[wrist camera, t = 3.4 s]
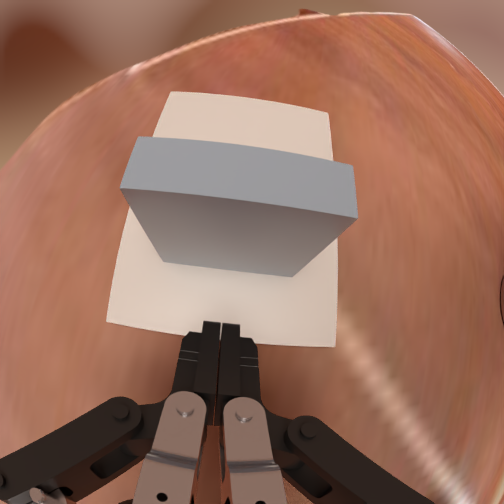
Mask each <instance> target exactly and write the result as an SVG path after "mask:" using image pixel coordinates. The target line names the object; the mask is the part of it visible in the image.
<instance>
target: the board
mask: <svg viewBox="0 0 504 504" xmlns="http://www.w3.org/2000/svg"><path fill="white" fill-rule="evenodd" d="M153 137H160V138H177V139H191V140H202V141H213V142H222V143H231V144H239V145H246V146H253V147H260V148H267V149H273V150H279V151H285V152H291V153H296V154H302V155H307V156H312V157H317V158H322V159H326V160H331V161H333V153H332V143H331V133H330V125H329V116H328V113H326V112H322V111H317V110H313V109H309V108H304V107H299V106H294V105H289V104H284V103H278V102H273V101H266V100H260V99H253V98H246V97H238V96H229V95H219V94H208V93H193V92H171V93H170V95H169V97H168V100H167V102H166V104H165V107H164V109H163V111H162V114H161V116H160V119H159V121H158V124H157V126H156V129H155V131H154V134H153ZM337 293H338V244H337V238H336V239H335V240H334V241H333V242H332V243H331V244H329V245H328V246H327V247H326V248H325V249H324V250H323V251H322V252H321V253H319V254H318V255H317V256H316V257H315V258H314V259H313V260H311V261H310V262H309V263H308V264H307V265H306V266H305V267H304V268H302V269H301V270H300V271H299V272H298V273H297V274H295V275H294V276H293V277H284V276H275V275H266V274H257V273H248V272H240V271H231V270H223V269H214V268H206V267H198V266H190V265H182V264H175V263H167V262H163V261H162V259H161V258H160V256H159V254H158V253H157V251H156V250H155V248H154V246H153V245H152V243H151V241H150V240H149V238H148V236H147V235H146V233H145V231H144V230H143V228H142V226H141V225H140V223H139V221H138V220H137V218H136V216H135V214H134V213H133V211H132V209H131V207H130V208H129V211H128V215H127V219H126V222H125V226H124V230H123V234H122V239H121V243H120V247H119V252H118V256H117V261H116V266H115V271H114V276H113V281H112V287H111V293H110V299H109V305H108V312H107V319H106V322H110V323H115V324H120V325H125V326H130V327H136V328H141V329H147V330H152V331H158V332H165V333H171V334H178V335H185V336H186V335H187V334H188V332H189V331H192V332H199V333H202V327H203V321H212V322H221V329H220V339H221V330H222V323H231V324H240V337H247V338H252V339H253V341H254V343H257V344H271V345H287V346H310V347H335V343H336V324H337Z"/></svg>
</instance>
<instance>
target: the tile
mask: <svg viewBox="0 0 504 504" xmlns="http://www.w3.org/2000/svg"><path fill="white" fill-rule="evenodd" d="M120 190H121V191H122V193H123V195H124V197H125V199H126V200H127V202H128V204H129V206H130V207H131V209H132V211H133V213H134V214H135V216H136V218H137V220H138V221H139V223H140V225H141V226H142V228H143V230H144V231H145V233H146V235H147V236H148V238H149V240H150V241H151V243H152V245H153V246H154V248H155V250H156V251H157V253H158V254H159V256H160V258H161V259H162V261H163V262H167V263H175V264H182V265H190V266H198V267H206V268H214V269H223V270H231V271H240V272H248V273H257V274H266V275H275V276H284V277H293V276H294V275H295V274H297V273H298V272H299V271H300V270H301V269H302V268H304V267H305V266H306V265H307V264H308V263H309V262H310V261H311V260H313V259H314V258H315V257H316V256H317V255H318V254H319V253H321V252H322V251H323V250H324V249H325V248H326V247H327V246H328V245H329V244H331V243H332V242H333V241H334V240H335V239H336V238H337V237H338V236H339V235H341V234H342V233H343V232H344V231H345V230H346V229H347V228H348V227H349V226H350V225H351V224H353V223H354V222H355V221H356V220H357V219H358V211H357V200H356V189H355V180H354V171H353V166H352V165H348V164H344V163H340V162H335V161H331V160H326V159H322V158H317V157H312V156H307V155H302V154H296V153H291V152H285V151H279V150H273V149H267V148H260V147H253V146H246V145H239V144H231V143H222V142H213V141H202V140H191V139H177V138H160V137H138V139H137V141H136V144H135V146H134V149H133V151H132V154H131V157H130V159H129V162H128V165H127V168H126V170H125V173H124V176H123V179H122V182H121V185H120Z"/></svg>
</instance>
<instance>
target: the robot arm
mask: <svg viewBox="0 0 504 504" xmlns="http://www.w3.org/2000/svg"><path fill="white" fill-rule="evenodd" d="M501 308H502V316H503V320H504V278H503V282H502V288H501ZM220 329H221V322H212V321H203V327H202V333H199V332H192V331H189V332H188V334H187V335H186V336H185V337H184V338H183V339H182V344H181V349H180V353H179V359H178V363H177V368H176V373H175V377H174V382H173V388H172V391H171V393H170V395H169V396H168V397H167V398H166V399H165V400H163V401H161V402H159V403H155V404H147V405H138V404H137V403H136V402H135V401H133V400H132V399H129V398H126V397H114V398H111V399H109V400H107V401H106V402H104V403H102V404H101V405H99V406H97V407H96V408H94V409H92V410H91V411H89V412H87V413H85V414H84V415H82V416H80V417H78V418H77V419H75V420H73V421H71V422H70V423H68V424H66V425H64V426H62V427H61V428H59V429H57V430H55V431H53V432H51V433H50V434H48V435H46V436H44V437H42V438H40V439H38V440H37V441H35V442H33V443H31V444H29V445H27V446H25V447H23V448H21V449H19V450H17V451H15V452H13V453H11V454H9V455H7V456H5V457H3V458H1V459H0V500H2V501H4V502H6V503H7V504H76V502H77V501H79V500H81V499H83V498H84V497H86V496H88V495H89V494H91V493H93V492H94V491H96V490H98V489H99V488H101V487H103V486H104V485H106V484H107V483H109V482H110V481H112V480H114V479H115V478H117V477H118V476H120V475H121V474H123V473H124V472H126V471H127V470H129V469H130V468H132V467H133V466H134V465H136V464H137V463H139V462H140V461H142V460H143V459H144V458H145V459H144V461H143V465H142V469H141V472H140V476H139V480H138V483H137V487H136V491H135V495H134V499H130V500H126V501H123V502H121V503H119V504H195V503H196V496H197V488H198V479H199V473H200V467H201V460H202V454H203V448H204V443H205V441H206V437H207V425H212V424H213V415H214V406H215V419H214V426H220V431H219V442H218V447H219V463H220V478H221V504H287V500H286V495H285V489H284V484H283V479H282V476H283V477H284V478H285V479H286V480H287V481H288V482H289V483H290V484H291V485H293V486H294V487H295V488H296V489H297V490H298V491H299V492H301V493H302V494H303V495H304V496H305V497H307V498H308V499H309V500H310V501H311V502H313V503H314V504H435V503H434V502H432V501H431V500H429V499H427V498H426V497H424V496H423V495H421V494H419V493H418V492H416V491H415V490H413V489H412V488H410V487H409V486H407V485H406V484H404V483H403V482H401V481H400V480H398V479H397V478H395V477H394V476H392V475H391V474H390V473H388V472H387V471H385V470H384V469H382V468H381V467H380V466H378V465H377V464H376V463H374V462H373V461H371V460H370V459H369V458H367V457H366V456H365V455H363V454H362V453H361V452H359V451H358V450H357V449H356V448H354V447H353V446H352V445H350V444H349V443H348V442H347V441H345V440H344V439H343V438H342V437H340V436H339V435H338V434H337V433H335V432H334V431H333V430H332V429H330V428H329V427H328V426H327V425H325V424H324V423H323V422H322V421H321V420H319V419H317V418H316V417H313V416H299V417H297V418H295V419H293V420H290V419H287V418H283V417H280V416H277V415H274V414H272V413H271V412H269V411H268V410H267V409H266V408H265V407H264V405H263V403H262V401H261V396H260V381H259V368H258V351H257V346H256V344H255V343H254V341H253V339H252V338H247V337H240V324H231V323H222V330H221V339H220ZM219 341H220V348H219ZM218 355H219V358H218ZM217 368H218V372H217ZM216 383H217V386H216ZM215 396H216V402H215Z"/></svg>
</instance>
